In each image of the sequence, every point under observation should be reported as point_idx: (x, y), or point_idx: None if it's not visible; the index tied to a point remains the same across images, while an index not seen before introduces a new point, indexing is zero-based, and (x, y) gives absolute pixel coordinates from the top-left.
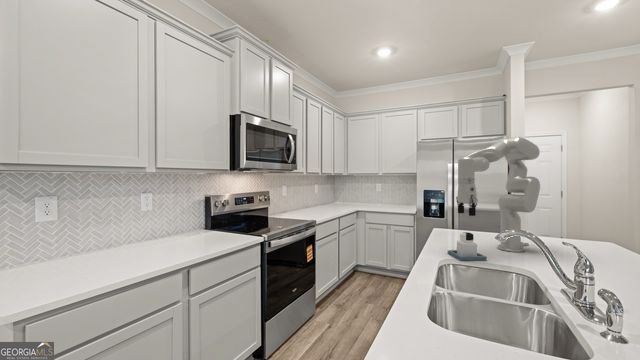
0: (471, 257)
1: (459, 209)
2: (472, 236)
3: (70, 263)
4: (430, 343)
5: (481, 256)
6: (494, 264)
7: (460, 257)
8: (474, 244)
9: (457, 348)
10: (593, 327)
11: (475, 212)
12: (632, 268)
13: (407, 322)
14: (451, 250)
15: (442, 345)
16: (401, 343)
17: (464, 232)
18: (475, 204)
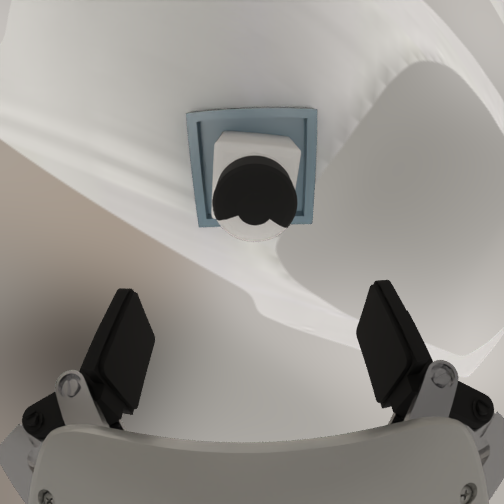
0: (314, 180)
1: (142, 368)
2: (292, 183)
3: None
4: (483, 353)
5: (313, 131)
6: (363, 114)
7: (305, 222)
8: (298, 164)
9: (496, 340)
10: None
11: (402, 304)
12: None
13: (461, 365)
14: (202, 212)
15: (489, 347)
16: (472, 367)
17: (237, 216)
18: (477, 409)
